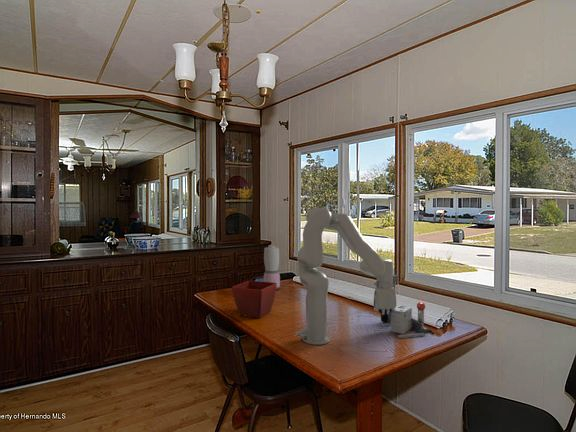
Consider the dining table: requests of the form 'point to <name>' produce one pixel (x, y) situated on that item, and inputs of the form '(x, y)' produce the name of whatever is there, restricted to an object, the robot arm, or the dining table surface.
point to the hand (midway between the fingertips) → (384, 322)
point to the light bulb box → (401, 319)
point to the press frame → (415, 324)
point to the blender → (271, 265)
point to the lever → (421, 314)
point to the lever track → (427, 331)
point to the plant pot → (254, 297)
